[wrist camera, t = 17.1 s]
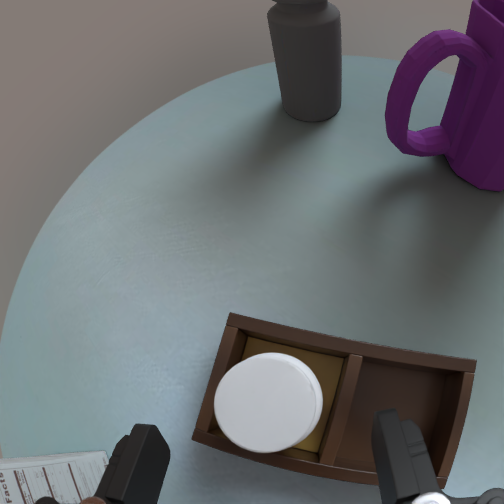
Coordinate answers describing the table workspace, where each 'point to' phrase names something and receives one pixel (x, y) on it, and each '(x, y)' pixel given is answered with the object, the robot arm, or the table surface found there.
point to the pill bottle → (268, 402)
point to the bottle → (307, 57)
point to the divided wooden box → (348, 398)
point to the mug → (458, 98)
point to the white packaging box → (51, 477)
